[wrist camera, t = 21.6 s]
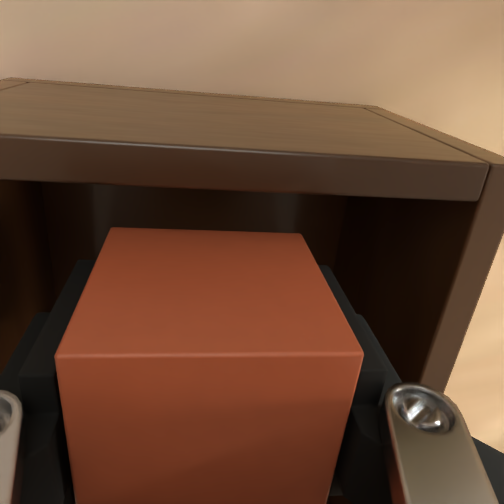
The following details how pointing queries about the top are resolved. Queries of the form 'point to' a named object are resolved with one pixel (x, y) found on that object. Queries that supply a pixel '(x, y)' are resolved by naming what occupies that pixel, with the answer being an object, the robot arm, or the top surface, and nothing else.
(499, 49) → the top surface
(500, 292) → the top surface
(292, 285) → the block
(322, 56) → the top surface
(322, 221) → the brown open box
